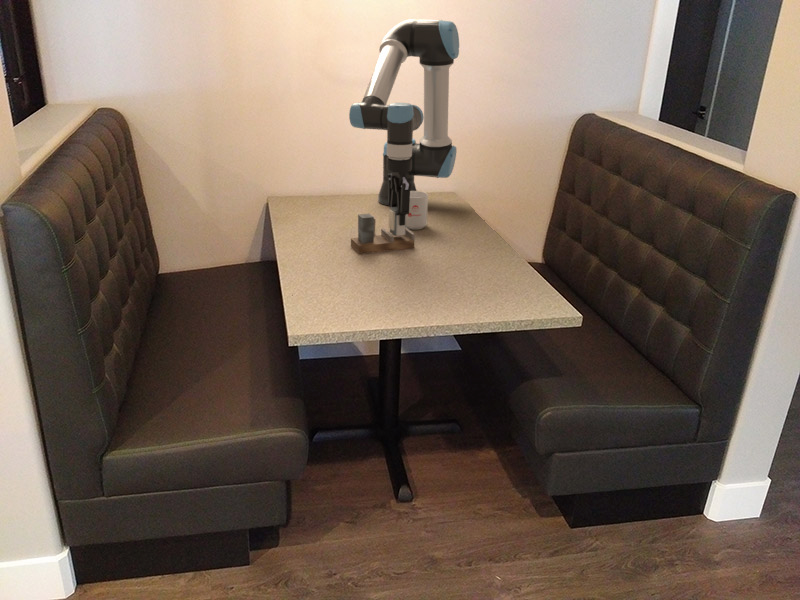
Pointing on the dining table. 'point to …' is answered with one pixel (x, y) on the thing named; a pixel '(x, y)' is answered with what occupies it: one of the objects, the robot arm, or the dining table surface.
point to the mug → (417, 210)
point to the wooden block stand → (379, 237)
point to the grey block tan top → (393, 220)
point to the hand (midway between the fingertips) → (397, 232)
